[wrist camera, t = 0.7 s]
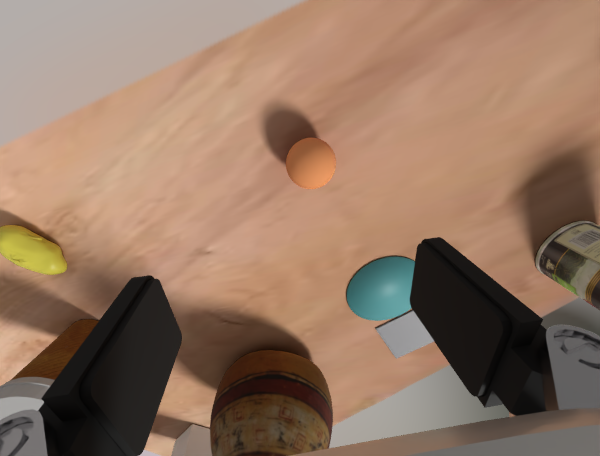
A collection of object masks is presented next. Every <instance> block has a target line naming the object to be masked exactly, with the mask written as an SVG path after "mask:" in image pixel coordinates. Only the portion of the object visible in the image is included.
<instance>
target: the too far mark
mask: <svg viewBox="0 0 600 456" xmlns="http://www.w3.org/2000/svg"><path fill="white" fill-rule="evenodd" d="M376 330H377V332H378V333H379V334H380V336H381V337H382V339H383V340H384V342H385V343H386V345H387V346H388V347H389V349H390V350H391V352H392V353H393V355H394V356H395V358H396V359H397V358H399V357H401V356H403V355H405V354H407V353H410V352H412V351H414V350H416V349H418V348H421V347H423V346H425V345H427V344H429V343H431V342H434V340H433V339H432V337H431V336H430V334H429V333H428V331H427V330H426V328H425V327H424V325H423V324H422V323H421V321H420V320H419V318H418V317H417V315H416V314H415V312H414V311H413V310H412V311H410V312H408V313H406V314H404V315H402V316H400V317H398V318H396V319H394V320H392V321H389V322H387V323H385V324H383V325H381V326H379V327H377V328H376Z"/></svg>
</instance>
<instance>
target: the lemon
mask: <svg viewBox="0 0 600 456" xmlns="http://www.w3.org/2000/svg"><path fill="white" fill-rule="evenodd" d="M0 253H1V254H2V255H3V256H4V257H5V258H6V259H8V260H10V261H11V262H13V263H14V264H16V265H18V266H21V267H24V268H26V269H29V270H32V271H35V272H38V273H42V274H47V275H54V274H60V273H63V272H65V271H66V269H67V262H66V260H65V259H64V257H63V255H62V251H61V248H60V247H59V246H58V245H56V244H54V243H52V242H50V241H48V240H46V239H45V238H43V237H41V236H39V235H37V234H35V233H33V232H32V231H30V230H28V229H26V228H24V227H22V226H16V225H6V226H1V227H0Z"/></svg>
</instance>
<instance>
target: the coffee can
mask: <svg viewBox="0 0 600 456" xmlns="http://www.w3.org/2000/svg"><path fill="white" fill-rule="evenodd" d="M535 264H536V267H537V269H538V270H539V271H540V272H541V273H542V274H545V275H546V276H548V277H550V278H551V279H553V280H554V281H556V282H557V283H559V284H560V285H562V286H563V287H565V288H566V289H568V290H569V291H571V292H573V293H574V294H576V295H577V296H579V297H580V298H582V299H583V300H585V301H586V302H588V303H589V304H591V305H592V306H594V307H596V308H597V309H598V310H600V226H599V225H597V224H595V223H593V222H590V221H578V222H573V223H571V224H568V225H566V226H564V227H562V228H560V229H559V230H557V231H556V232H554V233H553V234H552V235H551V236H549V237H548V238H547V240H546V241H545V242H544V243H543V244H542V246H541V247H540V249H539V250H538V253H537V255H536V259H535Z"/></svg>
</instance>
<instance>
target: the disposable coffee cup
mask: <svg viewBox="0 0 600 456" xmlns="http://www.w3.org/2000/svg"><path fill="white" fill-rule="evenodd" d="M98 322H99V321H97V320H92V319H84V320H79V321H77V322H75V323H73V324H72V325H71V326H70V327H69V328H68V329H67V330H66V331H65V332H64V333H62V334H61V335H60V336H59V337H58V338H57V339H56V340H55V341H53V342H52V343H51V344H50V345H49V346H48V347H47V348H46V349H45V350H43V351H42V352H41V353H40V354H39V355H38V356H37V357H36V358H35V359H33V360H32V361H31V362H30V363H29V364H28V365H27V366H26V367H25V368H23V369H22V370H21V371H20V372H19V373H18V374H17V375H16V376H15V377H14V378H13V379H11V380H10V381H8V382H6V383H5V384H4V385H1V386H0V420H1V419H3V418H5V417H7V416H9V415H11V414H13V413H16V412H19V411H22V410H30V409H34V410H36V411H38V410H39V409H40V407H41V406H42V405H43V403H44V401H43V400H42V399H41V398H42V397H43V395H44V394H45V393H46V391H47V390H48V389H49V387H50V386H51V385H52V383H53V382H54V381H55V379H56V378H57V377H58V375H59V374H60V373H61V371H62V370H63V369H64V367H65V366H66V365H67V363H68V362H69V361H70V359H71V358H72V357H73V355H74V354H75V353H76V351H77V350H78V349H79V347H80V346H81V345H82V343H83V342H84V341H85V339H86V338H87V337H88V335H89V334H90V333H91V331H92V330H93V329H94V327H95V326H96V325H97V323H98Z"/></svg>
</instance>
